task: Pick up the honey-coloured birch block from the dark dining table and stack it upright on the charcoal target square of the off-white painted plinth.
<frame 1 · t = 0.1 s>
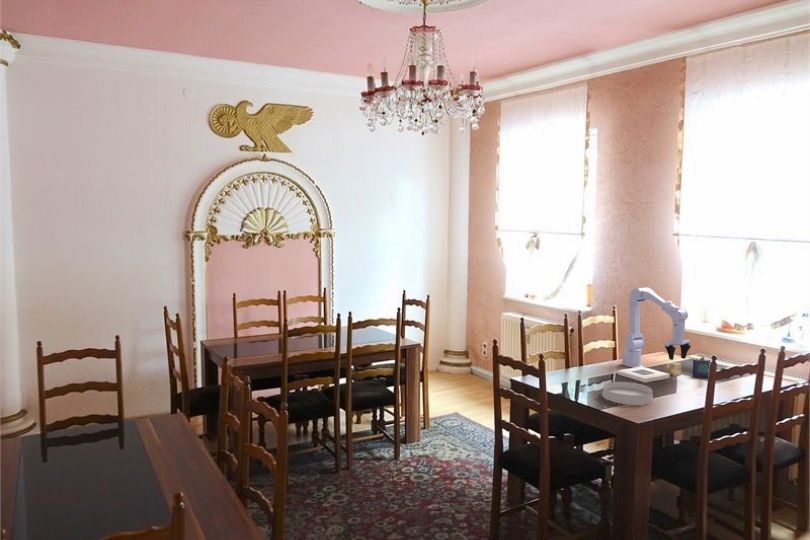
hand: (677, 359, 329), 10 cm above the table, tool pointing down, fingers open, 7 cm apart
block: (673, 374, 337), on the table
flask: (701, 377, 332), on the table
plinth: (643, 376, 333), on the table
dish: (626, 399, 295), on the table
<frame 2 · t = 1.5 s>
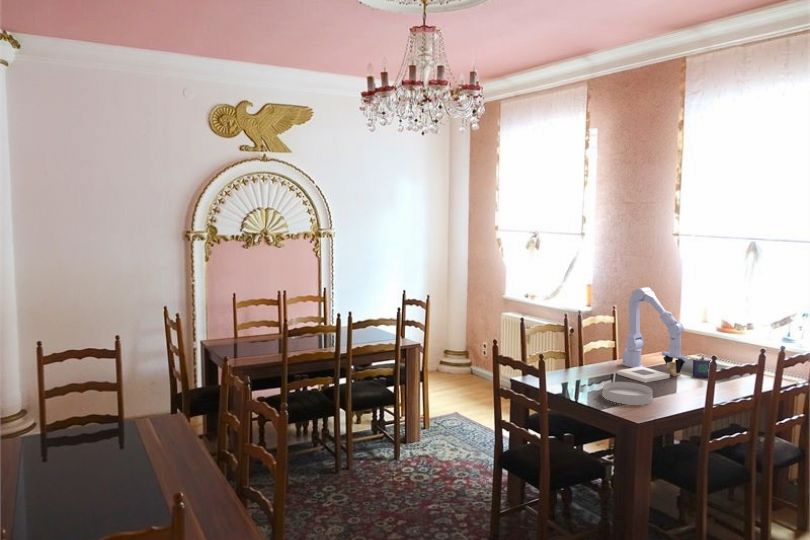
hand: (673, 371, 337), 1 cm above the table, tool pointing down, fingers closed on block, 5 cm apart
block: (673, 374, 337), on the table, touching gripper
everything else where it was.
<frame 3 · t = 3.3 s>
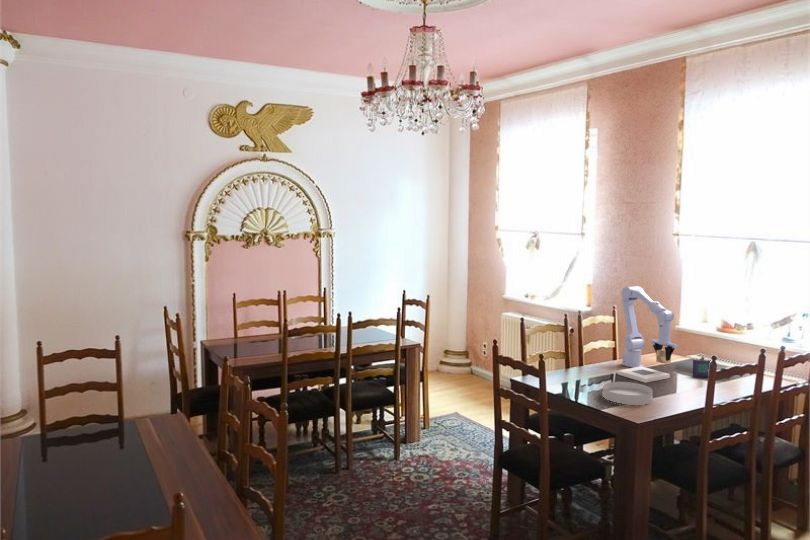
hand: (663, 359, 335), 8 cm above the table, tool pointing down, fingers closed on block, 5 cm apart
block: (663, 362, 335), point 7 cm above the table, touching gripper
everything else where it was.
when the fingers open (5 cm above the table, at t = 5.1 s): block drops 1 cm, resting on plinth.
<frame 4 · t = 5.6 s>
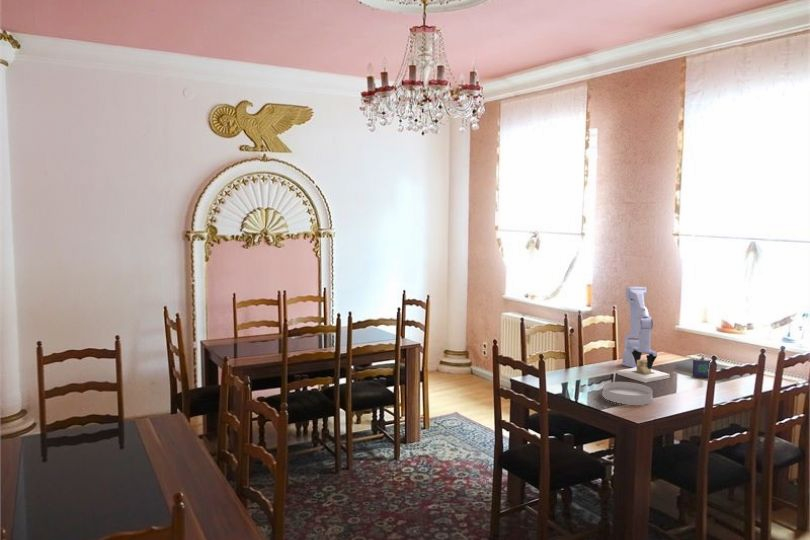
hand: (643, 366, 333), 5 cm above the table, tool pointing down, fingers open, 7 cm apart
block: (643, 371, 333), point 2 cm above the table, touching plinth
everything else where it was.
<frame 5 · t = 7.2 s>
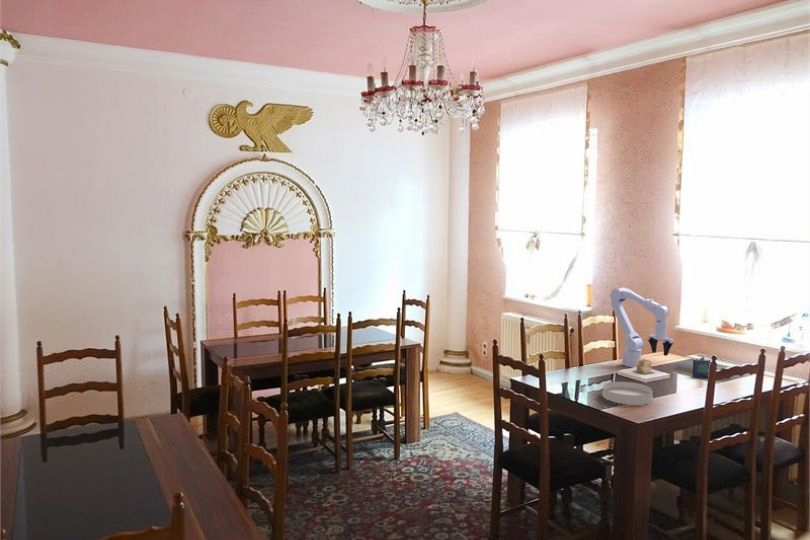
hand: (659, 353, 342), 9 cm above the table, tool pointing down, fingers open, 7 cm apart
nothing on the table moved.
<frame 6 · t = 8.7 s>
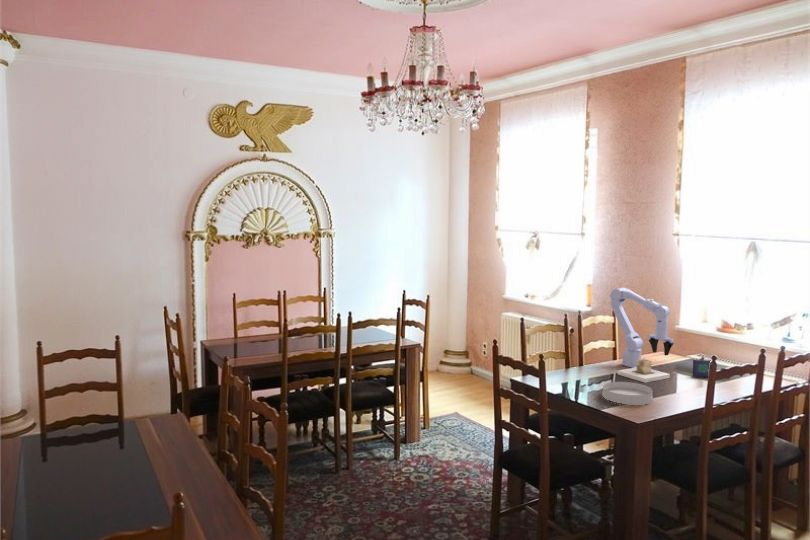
hand: (660, 353, 342), 9 cm above the table, tool pointing down, fingers open, 7 cm apart
nothing on the table moved.
at the end: block inside the target area on the plinth (0.3 cm from its centre), point 2.2 cm above the plinth's base; block tilted 0°; the gripper is holding nothing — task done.
